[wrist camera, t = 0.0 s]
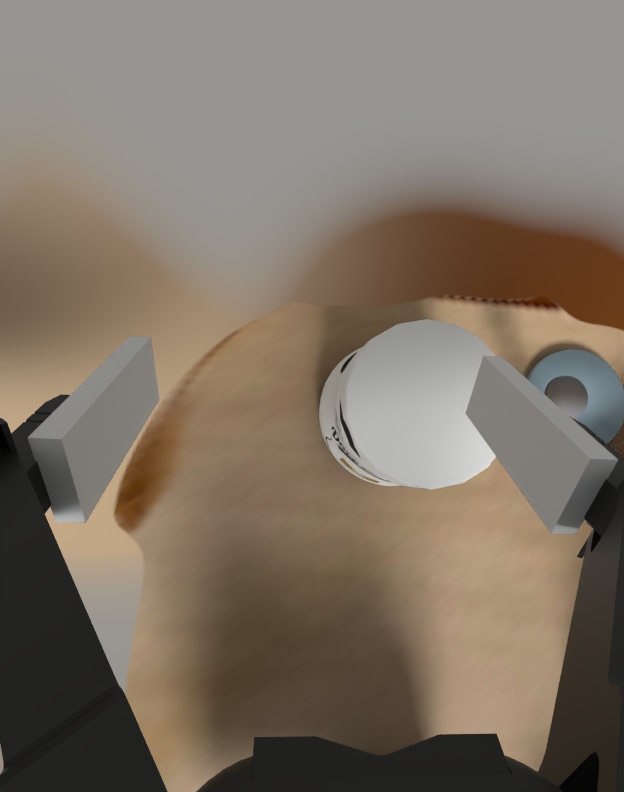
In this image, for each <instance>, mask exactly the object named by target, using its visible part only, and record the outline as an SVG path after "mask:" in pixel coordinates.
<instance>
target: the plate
mask: <svg viewBox="0 0 624 792" xmlns="http://www.w3.org/2000/svg"><path fill="white" fill-rule="evenodd" d="M560 376H572V377H575V378H577V379H578V380H579V381H581V382H582V383H583V385H584V386H585V388H586V390H587V393H588V404H587V407H586V409H585V410H584V412H583V413H582V414H580V415H579V416H577V417H576V419H577V421H579V422H581V423H582V424H584V425H586V426H587V427H588V428H589V429H590V430H591V431H593V432H594V433H595V434H596V436H598V437H599V438H601V439H602V440H603V441H604V442H605V444H607V443H609V442H610V441H611V440H612V439H613V438H614V437H615V436H616V435H617V433H618V432H619V430H620V428H621V426H622V424H623V421H624V389H623V386H622V383H621V381H620V379H619V377H618V376H617V374H616V372H615V371H614V370H613V369H612V367H611V366H610V365H609V364H608V363H607V362H605V361H604V360H603V359H601V358H600V357H598V356H597V355H595V354H592V353H590V352H587V351H584V350H578V349H568V350H562V351H558V352H555V353H552V354H550V355H547V356H546V357H544V358H542V359H541V360H540V361H538V362H537V363H536V364H535V365H534V366H533V368H532V369H531V370H530V372H529V374H528V376H527V378H526V379H528V380H529V381H530V382H531V383H532V384H533V385H534V386H535V387H537V388H538V389H539V390H540V391H541V392H542V393H543V394H544V392H545V388H546V386H547V384H548V383H549V382H550V381H551V380H552V379H554V378H556V377H560Z"/></svg>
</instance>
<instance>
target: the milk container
mask: <svg viewBox="0 0 624 792" xmlns="http://www.w3.org/2000/svg"><path fill="white" fill-rule="evenodd" d="M483 356H495V355H494V354H493V352H492V351H491V350H490V349H489V348H488V347H487V346H486V345H485V343H484V342H483V341H482V340H481V339H480V338H478V337H477V336H475V335H473V334H471V333H470V332H468V331H466V330H464V329H463V328H461V327H459V326H458V325H456V324H451V323H446V322H441V321H435V320H430V319H425V320H418V321H412V322H406V323H400V324H397V325H395V326H393V327H392V328H390V329H388V330H386V331H385V332H383V333H381V334H379V335H378V336H376V337H374V338H372V339H371V340H369V341H368V342H367V343H366V344H365V345H364V346H363V347H361V348H359V349H357V350H355V351H354V352H352V353H351V354H349V355H348V356H346V357H345V358H344V359H343V360H342V361H341V362H340V363H339V364H338V365H337V366H336V367H335V368H334V370H333V371H332V372H331V374H330V376H329V377H328V379H327V381H326V383H325V385H324V388H323V391H322V394H321V398H320V405H319V421H320V427H321V431H322V434H323V438H324V440H325V442H326V445H327V446H328V448H329V450H330V452H331V453H332V455H333V456H334V457H335V459H336V460H337V461H338V462H339V463H340V464H341V465H342V466H343V467H344V468H345V469H346V470H348V471H349V472H350V473H352V474H354V475H355V476H357V477H359V478H361V479H363V480H365V481H368V482H370V483H374V484H378V485H384V486H409V487H416V488H422V489H437V488H442V487H446V486H451V485H456V484H461V483H464V482H466V481H467V480H469V479H470V478H472V477H474V476H475V475H477V474H478V473H480V472H481V471H483V470H484V469H486V468H487V467H488V466H489V465H490V464H491V462H492V461H493V460H494V458H495V457H496V456H495V454H494V453H493V451H492V450H491V449H490V447H489V446H488V444H487V443H486V442H485V440H484V439H483V437H482V436H481V435H480V433H479V432H478V430H477V429H476V428H475V426H474V425H473V423H472V422H471V421H470V419H469V418H468V416H467V415H466V414H465V413H466V410H467V407H468V403H469V400H470V397H471V394H472V391H473V387H474V384H475V381H476V378H477V375H478V371H479V368H480V365H481V362H482V359H483Z"/></svg>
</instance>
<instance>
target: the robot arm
mask: <svg viewBox="0 0 624 792" xmlns="http://www.w3.org/2000/svg"><path fill="white" fill-rule="evenodd" d="M158 401H159V395H158V387H157V380H156V372H155V365H154V357H153V349H152V341H151V337H142V336H130V337H129V338H128V339H127V340H126V341H125V342H124V343H123V344H121V345H120V347H119V348H118V349H116V351H114V353H112V354H111V355H110V356H109V357H108V358H107V359H106V360H105V361H104V362H103V364H101V365H100V366H99V367H98V368H97V369H96V370H95V371H94V372H93V373H92V374H91V375H90V376H89V377H88V378H87V379H86V380H85V381H84V382H83V383H82V384H81V385H80V386H79V387H78V388H77V389H76V390H75V391H74V392H73V393H72V394H71V395H59V396H57V397H55V398H53V399H52V400H49V401H47V402H45V403H44V404H43V405H42V406H41V407H40V408H39V409H38V410H37V411H35V414H32V415H31V416H30V417H29V418H28V419H27V420H26V422H24V423H22V425H20V426H19V427H18V428H17V429H16V430H15V431H14V432H13V433H12V434H11V432H10V429H9V427H8V424H7V422H6V421H4V420H3V419H1V418H0V744H1V749H2V755H3V762H4V770H3V771H2V773H1V774H0V792H167V789H166V787H165V785H164V782H163V780H162V778H161V776H160V773H159V771H158V769H157V766H156V764H155V762H154V760H153V757H152V755H151V753H150V750H149V748H148V746H147V744H146V741H145V739H144V737H143V734H142V732H141V730H140V728H139V725H138V723H137V721H136V718H135V716H134V714H133V712H132V709H131V707H130V705H129V703H128V700H127V698H126V696H125V694H124V692H123V690H122V688H120V687H119V685H118V683H117V680H116V678H115V676H114V674H113V671H112V669H111V667H110V664H109V662H108V660H107V657H106V655H105V653H104V650H103V648H102V646H101V644H100V641H99V639H98V637H97V634H96V632H95V630H94V627H93V625H92V623H91V620H90V618H89V616H88V613H87V611H86V609H85V607H84V604H83V602H82V600H81V597H80V595H79V593H78V590H77V588H76V586H75V583H74V581H73V579H72V576H71V574H70V572H69V570H68V567H67V565H66V563H65V560H64V558H63V556H62V553H61V551H60V549H59V546H58V544H57V542H56V539H55V537H54V535H53V533H52V530H51V528H50V526H49V523H48V521H47V519H46V516H45V513H46V511H47V510H48V509H49V507H50V506H51V509H52V512H53V515H54V518H55V521H56V522H74V523H75V522H76V523H85V522H86V521H87V519H88V518H89V516H90V514H91V513H92V511H93V509H94V508H95V506H96V504H97V502H98V501H99V499H100V498H101V496H102V494H103V493H104V491H105V489H106V488H107V486H108V484H109V483H110V481H111V479H112V478H113V476H114V474H115V473H116V471H117V469H118V468H119V466H120V464H121V463H122V461H123V459H124V458H125V456H126V454H127V452H128V451H129V449H130V448H131V446H132V444H133V442H134V441H135V439H136V437H137V436H138V434H139V432H140V431H141V429H142V427H143V426H144V424H145V422H146V421H147V419H148V417H149V416H150V414H151V412H152V411H153V409H154V407H155V406H156V404H157V402H158ZM465 414H466V415H467V416H468V418H469V419H470V421H471V422H472V423H473V425H474V426H475V428H476V429H477V430H478V432H479V433H480V435H481V436H482V437H483V439H484V440H485V442H486V443H487V444H488V446H489V447H490V449H491V450H492V451H493V453H494V454H495V456H496V457H497V458H498V460H499V461H500V463H501V464H502V465H503V467H504V468H505V470H506V471H507V472H508V474H509V475H510V477H511V478H512V479H513V481H514V482H515V484H516V485H517V487H518V488H519V489H520V491H521V492H522V494H523V495H524V496H525V498H526V499H527V501H528V502H529V503H530V505H531V506H532V508H533V509H534V510H535V512H536V513H537V515H538V516H539V517H540V519H541V520H542V522H543V523H544V524H545V526H546V527H547V529H548V530H549V531H550V533H551V534H576V533H577V531H578V529H579V528H580V526H581V524H582V522H583V521H584V519H586V520H587V521H588V523H589V524H590V525H591V526H592V527H593V531H592V532H591V534H590V536H589V537H588V539H587V541H586V542H585V544H584V546H583V547H582V549H581V551H580V552H579V554H578V556H577V557H579V558H582V557H583V556H584V560H583V565H582V570H581V575H580V580H579V586H578V591H577V596H576V601H575V606H574V611H573V616H572V621H571V626H570V631H569V636H568V641H567V647H566V652H565V657H564V662H563V667H562V672H561V677H560V682H559V687H558V692H557V697H556V702H555V707H554V713H553V718H552V723H551V728H550V733H549V738H548V743H547V748H546V752H545V756H544V759H543V761H542V764H541V766H540V768H539V771H538V772H536V771H535V770H533V769H531V768H530V767H528V766H526V765H525V764H523V763H521V762H519V761H516V760H514V759H512V758H510V757H508V756H504V753H503V750H502V748H501V745H500V742H499V739H498V737H497V734H446V735H437V736H434V737H432V738H429V739H427V740H424V741H421V742H419V743H416V744H414V745H411V746H409V747H406V748H403V749H401V750H398V751H396V752H393V753H391V754H388V755H385V756H377V755H373V754H370V753H367V752H363V751H360V750H357V749H354V748H351V747H348V746H344V745H341V744H338V743H335V742H332V741H329V740H325V739H322V738H319V737H316V736H310V737H254V750H253V756H252V757H249V758H247V759H244V760H241V761H239V762H237V763H235V764H233V765H231V766H229V767H228V768H226V769H224V770H222V771H221V772H220V773H218V774H217V775H216V776H214V777H213V778H211V779H210V780H209V781H207V782H206V783H205V784H204V785H203V786H202V787H201V788H200V789H199V790H198V791H197V792H624V458H623V457H621V456H620V455H619V454H618V453H617V452H616V451H614V450H613V449H612V448H611V447H610V446H609V445H608V444H605V442H604V441H603V440H602V439H601V438H599V437H598V436H596V434H595V433H594V432H593V431H591V430H590V429H589V428H588V427H587V426H586V425H584V424H582V423H581V422H579V421H577V420H575V419H573V418H572V417H570V416H568V415H567V414H566V413H565V412H564V411H563V410H561V409H560V408H559V407H558V406H557V405H556V404H555V403H554V402H552V401H551V400H550V399H549V398H548V397H547V396H546V395H545V394H543V393H542V392H541V391H540V390H539V389H538V388H537V387H535V386H534V385H533V384H532V383H531V382H530V381H529V380H528V379H526V378H525V377H524V376H523V375H522V374H521V373H520V372H519V371H517V370H516V369H515V368H514V367H513V366H512V365H511V364H509V363H508V362H507V361H506V360H505V359H504V358H503V357H500V356H483V359H482V362H481V365H480V368H479V371H478V375H477V378H476V381H475V384H474V387H473V391H472V394H471V397H470V400H469V403H468V407H467V410H466V413H465Z"/></svg>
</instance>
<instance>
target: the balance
mask: <svg viewBox="0 0 624 792" xmlns="http://www.w3.org/2000/svg"><path fill="white" fill-rule="evenodd" d="M544 394H545V395H546V396H547V397H548V398H549V399H550V400H551V401H552V402H554V403H555V404H556V405H557V406H558V407H559V408H560V409H561V410H563V411H564V412H565V413H566V414H567V415H568V416H570V417H572V418H573V419H575V420H577V419H576V417H577V416H579V415H580V414H582V413H583V412H584V410H585V409H586V407H587V404H588V393H587V390H586V388H585V386H584V385H583V383H582V382H581V381H579V380H578V379H577V378H575V377H572V376H560V377H556V378H554V379H552V380H551V381H550V382H549V383H548V384H547V386H546V388H545V392H544ZM585 520H586V519H585ZM586 522H587V523H588V521H587V520H586ZM588 525H590V524H589V523H588ZM590 526H591V525H590ZM591 527H592V526H591ZM592 528H593V527H592Z"/></svg>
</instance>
